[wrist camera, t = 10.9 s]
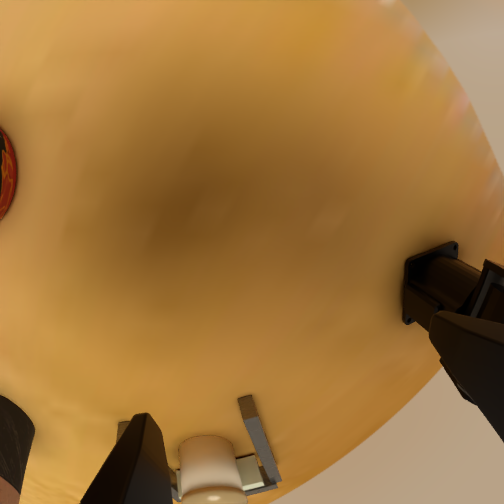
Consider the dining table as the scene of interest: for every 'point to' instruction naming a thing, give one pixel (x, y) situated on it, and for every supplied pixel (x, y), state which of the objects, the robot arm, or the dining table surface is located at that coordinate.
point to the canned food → (6, 173)
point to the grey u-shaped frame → (259, 441)
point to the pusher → (247, 472)
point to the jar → (209, 472)
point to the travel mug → (13, 450)
